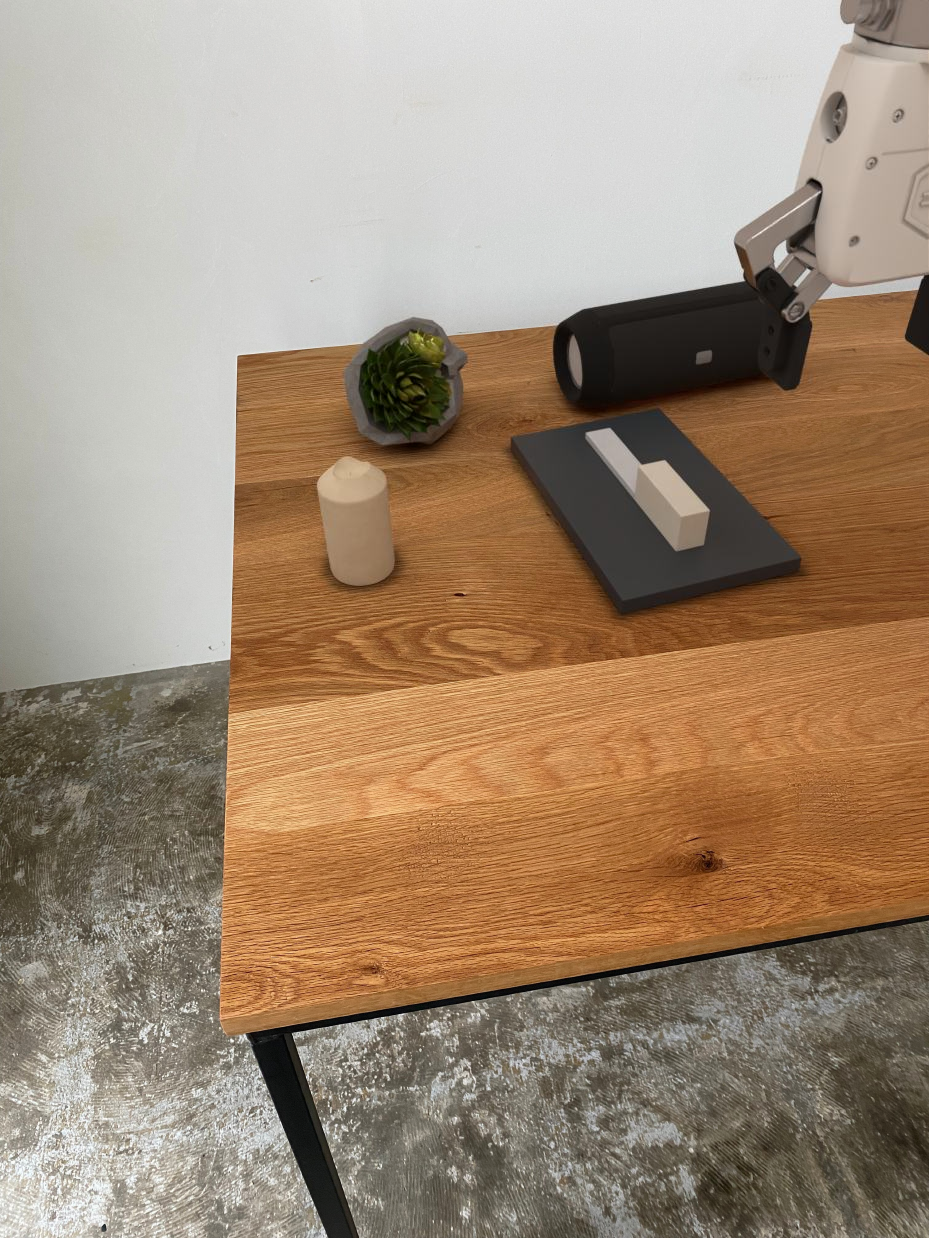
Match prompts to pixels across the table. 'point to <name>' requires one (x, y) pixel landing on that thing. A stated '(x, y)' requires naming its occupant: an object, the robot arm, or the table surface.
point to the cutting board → (625, 536)
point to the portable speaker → (659, 344)
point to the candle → (356, 522)
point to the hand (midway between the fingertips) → (852, 364)
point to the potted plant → (406, 383)
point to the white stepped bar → (655, 491)
